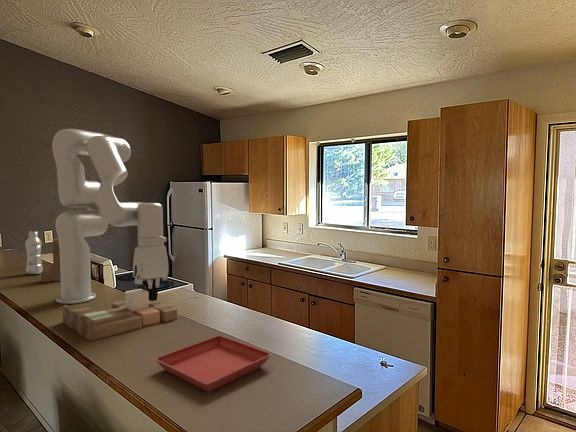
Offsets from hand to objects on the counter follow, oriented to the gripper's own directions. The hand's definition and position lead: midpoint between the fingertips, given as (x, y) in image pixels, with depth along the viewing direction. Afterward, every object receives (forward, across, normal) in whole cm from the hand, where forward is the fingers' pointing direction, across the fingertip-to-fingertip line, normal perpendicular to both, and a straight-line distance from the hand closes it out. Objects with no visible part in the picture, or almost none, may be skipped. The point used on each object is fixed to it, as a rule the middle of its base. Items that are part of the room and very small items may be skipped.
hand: (152, 300), depth 126 cm
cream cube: (+1, +5, 0) cm, 5 cm away
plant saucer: (+5, +10, +46) cm, 48 cm away
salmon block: (+5, +5, +7) cm, 9 cm away
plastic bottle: (+4, +8, -98) cm, 98 cm away
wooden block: (+4, +6, -76) cm, 76 cm away
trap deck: (+4, +9, 0) cm, 10 cm away
